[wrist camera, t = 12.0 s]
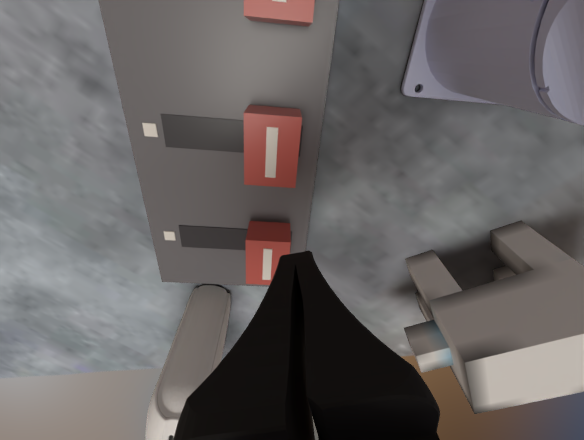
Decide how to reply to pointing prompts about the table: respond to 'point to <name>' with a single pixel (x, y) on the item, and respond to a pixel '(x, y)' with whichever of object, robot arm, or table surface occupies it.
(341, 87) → the table surface
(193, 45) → the slider switch panel
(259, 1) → the switch
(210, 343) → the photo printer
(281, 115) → the switch
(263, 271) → the switch
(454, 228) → the table surface
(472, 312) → the toy llama
